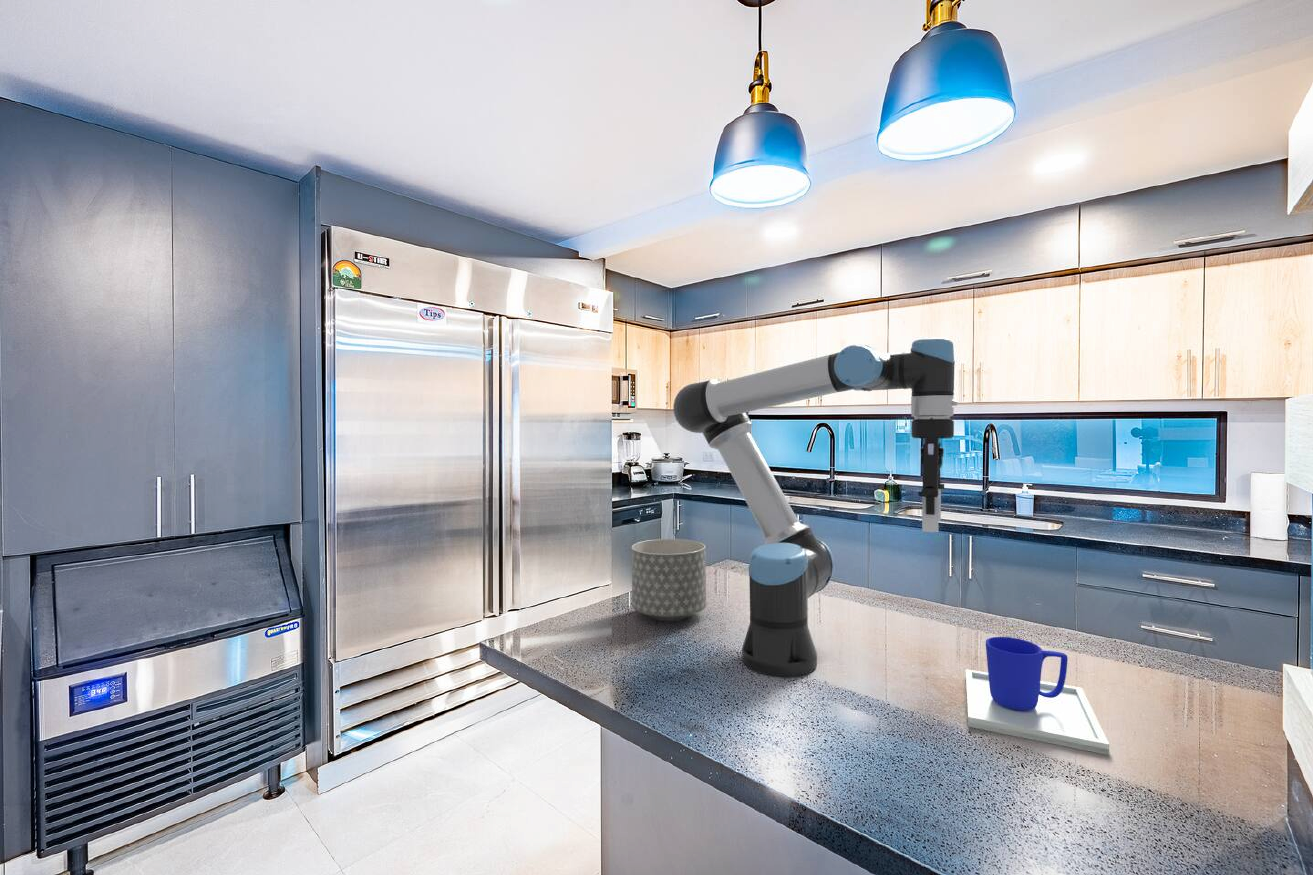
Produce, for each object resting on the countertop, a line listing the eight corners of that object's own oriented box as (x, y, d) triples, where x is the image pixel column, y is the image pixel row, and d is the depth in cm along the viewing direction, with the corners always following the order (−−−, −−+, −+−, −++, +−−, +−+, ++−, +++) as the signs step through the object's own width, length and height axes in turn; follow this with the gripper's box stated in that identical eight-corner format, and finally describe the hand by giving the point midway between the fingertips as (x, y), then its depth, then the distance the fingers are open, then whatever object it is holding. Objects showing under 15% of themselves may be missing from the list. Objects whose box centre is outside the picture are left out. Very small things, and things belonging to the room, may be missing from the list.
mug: (1079, 720, 91) (1079, 658, 91) (995, 713, 94) (995, 652, 94) (1055, 696, 99) (1054, 639, 99) (978, 690, 102) (978, 635, 102)
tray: (968, 726, 91) (968, 716, 91) (965, 677, 109) (965, 669, 109) (1109, 754, 83) (1109, 744, 83) (1081, 696, 101) (1081, 687, 101)
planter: (639, 603, 158) (638, 538, 157) (708, 605, 155) (707, 539, 155) (626, 627, 139) (625, 553, 139) (704, 630, 136) (703, 554, 136)
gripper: (953, 417, 99) (952, 538, 100) (954, 418, 121) (954, 517, 122) (906, 417, 103) (905, 535, 103) (915, 418, 125) (915, 515, 125)
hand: (931, 525), depth 113 cm, fingers open, 13 cm apart
